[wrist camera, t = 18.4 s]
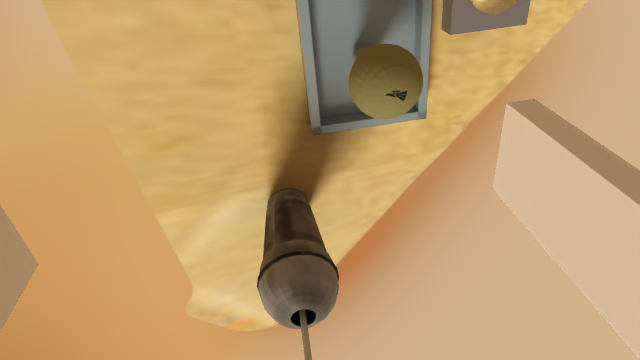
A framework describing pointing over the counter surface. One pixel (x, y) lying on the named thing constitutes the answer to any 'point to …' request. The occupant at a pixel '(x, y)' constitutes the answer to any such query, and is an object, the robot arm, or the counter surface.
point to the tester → (480, 17)
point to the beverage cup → (296, 266)
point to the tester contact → (492, 5)
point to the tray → (337, 49)
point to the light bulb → (385, 80)
